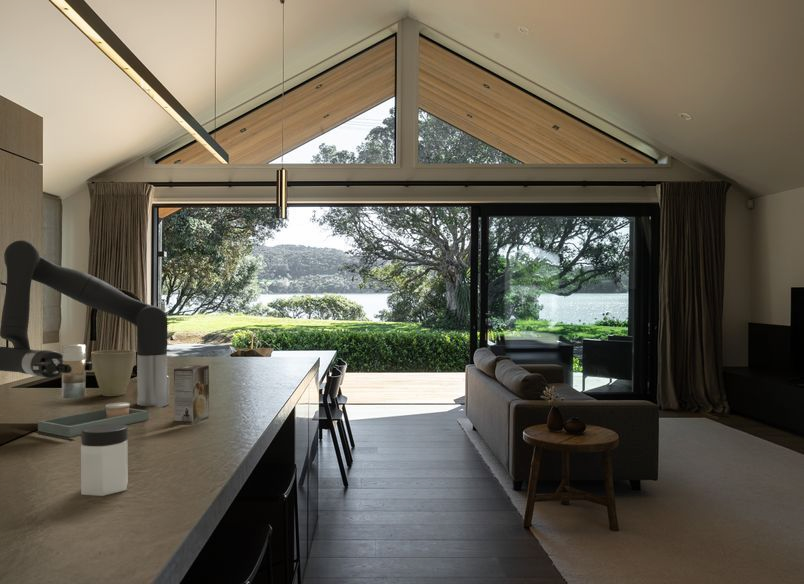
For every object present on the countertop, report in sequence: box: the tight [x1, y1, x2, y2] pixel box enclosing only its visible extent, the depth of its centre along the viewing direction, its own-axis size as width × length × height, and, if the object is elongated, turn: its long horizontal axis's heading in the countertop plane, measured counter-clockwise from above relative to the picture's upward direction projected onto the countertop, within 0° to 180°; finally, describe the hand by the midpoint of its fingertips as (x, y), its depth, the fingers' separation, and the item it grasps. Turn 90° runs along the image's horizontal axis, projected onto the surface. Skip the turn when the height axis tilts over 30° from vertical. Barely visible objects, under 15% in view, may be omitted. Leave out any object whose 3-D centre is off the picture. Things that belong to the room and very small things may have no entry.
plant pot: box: [90, 349, 137, 397], centre depth 229 cm, size 15×15×16 cm
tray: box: [37, 407, 150, 442], centre depth 174 cm, size 24×14×4 cm, turn 150°
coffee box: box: [173, 364, 210, 426], centre depth 183 cm, size 9×6×16 cm
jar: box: [80, 424, 129, 497], centre depth 121 cm, size 9×8×12 cm
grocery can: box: [61, 343, 87, 399], centre depth 168 cm, size 6×6×14 cm
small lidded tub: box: [105, 401, 131, 419], centre depth 180 cm, size 6×6×5 cm
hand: (79, 367), depth 167 cm, fingers closed on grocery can, 5 cm apart
